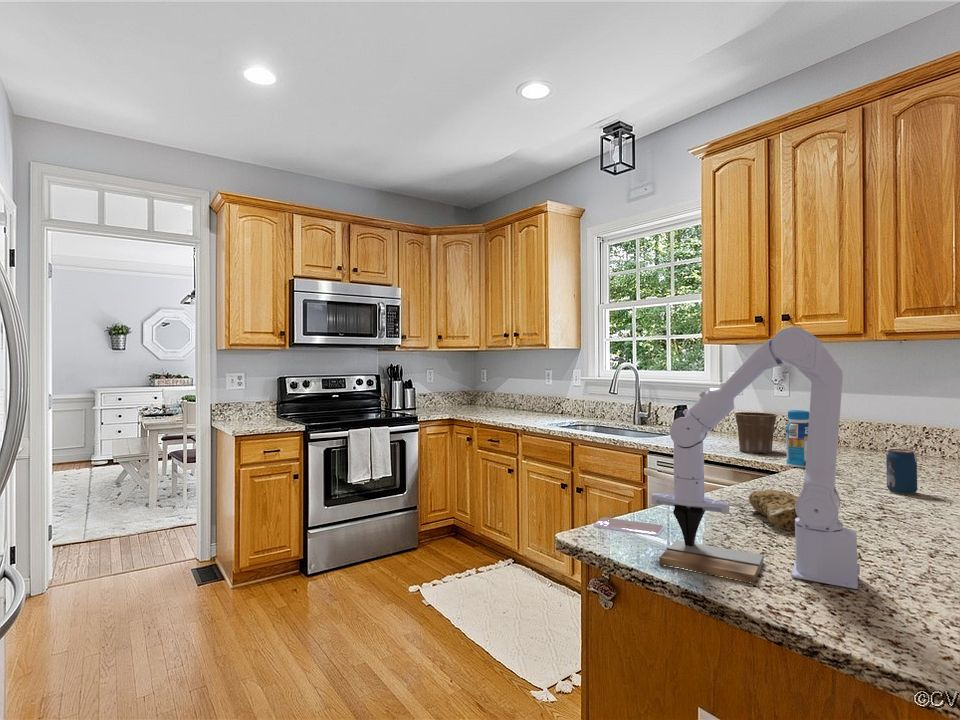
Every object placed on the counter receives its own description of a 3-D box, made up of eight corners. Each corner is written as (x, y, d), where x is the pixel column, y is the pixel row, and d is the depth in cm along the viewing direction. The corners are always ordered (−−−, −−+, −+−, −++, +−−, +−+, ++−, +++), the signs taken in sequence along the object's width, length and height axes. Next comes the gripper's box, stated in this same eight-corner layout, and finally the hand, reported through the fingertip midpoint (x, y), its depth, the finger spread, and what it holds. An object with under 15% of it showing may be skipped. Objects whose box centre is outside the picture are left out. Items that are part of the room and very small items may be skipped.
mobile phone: (658, 533, 118) (591, 523, 125) (658, 537, 118) (591, 527, 125) (665, 524, 124) (602, 515, 132) (665, 528, 124) (602, 519, 132)
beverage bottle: (782, 463, 200) (781, 409, 201) (806, 463, 199) (805, 409, 199) (792, 467, 192) (791, 411, 192) (817, 468, 191) (816, 411, 191)
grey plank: (763, 562, 101) (763, 554, 102) (759, 572, 97) (759, 564, 97) (676, 547, 111) (676, 540, 111) (668, 555, 106) (668, 548, 106)
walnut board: (758, 573, 96) (758, 563, 96) (754, 584, 92) (754, 574, 92) (667, 556, 105) (667, 547, 105) (659, 565, 101) (659, 556, 101)
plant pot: (782, 451, 228) (782, 413, 228) (771, 456, 216) (770, 416, 217) (742, 447, 239) (741, 411, 240) (729, 452, 228) (728, 413, 228)
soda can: (921, 492, 154) (920, 450, 154) (912, 496, 150) (911, 453, 150) (892, 488, 159) (891, 447, 160) (882, 491, 156) (882, 450, 156)
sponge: (823, 541, 117) (807, 501, 135) (816, 507, 117) (801, 471, 135) (757, 544, 123) (750, 505, 141) (750, 512, 122) (744, 477, 140)
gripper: (731, 476, 107) (732, 545, 107) (658, 469, 115) (659, 533, 115) (725, 483, 101) (726, 555, 101) (648, 475, 110) (648, 542, 109)
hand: (689, 544), depth 108 cm, fingers closed
